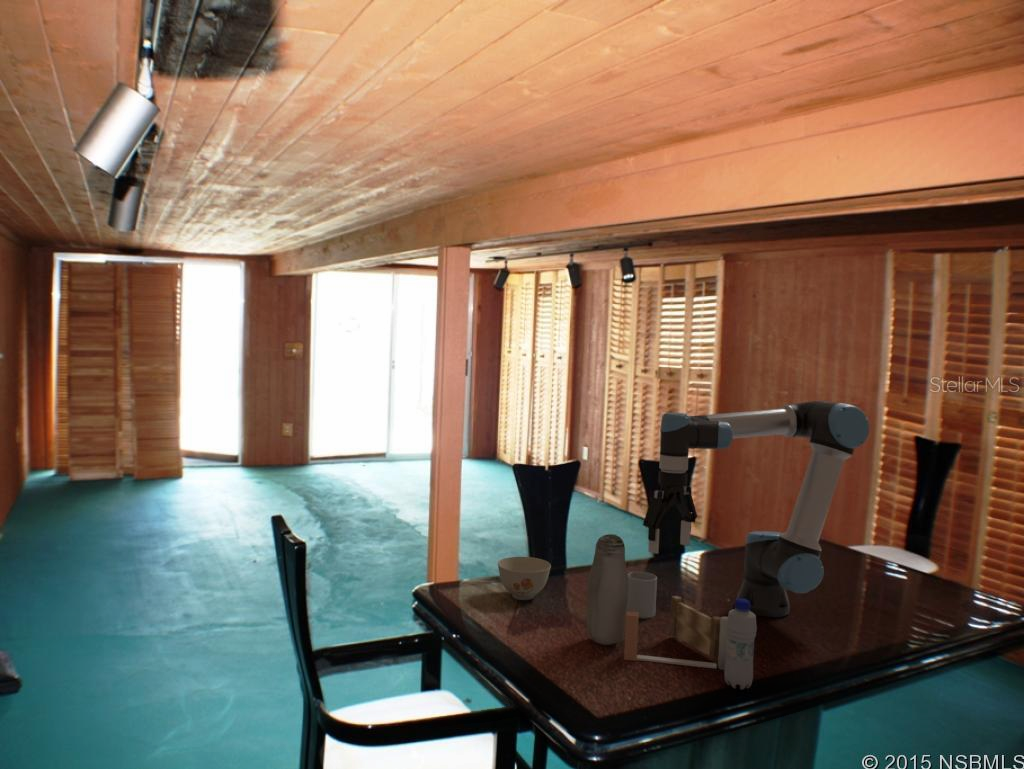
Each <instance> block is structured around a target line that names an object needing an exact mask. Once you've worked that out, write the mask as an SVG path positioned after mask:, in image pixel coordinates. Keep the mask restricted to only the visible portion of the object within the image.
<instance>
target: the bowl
mask: <svg viewBox="0 0 1024 769" xmlns="http://www.w3.org/2000/svg"><path fill="white" fill-rule="evenodd" d="M497 568H498V573H499V579H500V581H501V584H502V586H503V588H505V590H506V591H507V592H509V594H511V597H512V598H513V599H516V600H519V601H529V600H532V599H533V598H534V597H535V595H537V594H539V593H540V592H541V591H542V590H543V589H544V588H545V586H546V584H547V581H548V579H549V575H550V571H551V568H552V565H551V563H550V562H549V561H547V560H545V559H542V558H537V557H531V556H512V557H511V556H510V557H505V558H502V559H500V560H498V562H497Z"/></svg>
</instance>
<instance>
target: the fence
mask: <svg viewBox="0 0 1024 769" xmlns="http://www.w3.org/2000/svg"><path fill="white" fill-rule="evenodd" d="M720 618H721V619H720V637H719V655H718V659H717V663H715V662H710V661H709V662H708V661H707V662H706V661H697V660H690V659H679V658H671V657H669V658H668V657H663V656H662V657H660V656H654V655H653V656H651V655H643V654H638V640H639V638H638V637H639V619H640V618H639V612H631V611H626V628H625V632H624V634H625V635H624V636H625V637H624V655H623V660H626V661H633V662H635V661H636V662H637V661H643V662H650V663H651V662H652V663H659V664H660V663H661V664H670V665H678V666H679V665H680V666H690V667H697V668H708V669H715V670H716V669H717V668H718V670H721V671H725V663H726V652H727V635H728V634H727V631H726V629H727V627H726V623H727V619H728V616H721V617H720Z"/></svg>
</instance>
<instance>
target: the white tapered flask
mask: <svg viewBox="0 0 1024 769" xmlns="http://www.w3.org/2000/svg"><path fill="white" fill-rule="evenodd" d="M625 546H626V545H625V542H624V540H623V539H622V537H620V536H619V535H617V534H613V533H612V534H611V533H609V534H604V535H601V536H600V537H599V538H598V539H597V541H596V543H595V546H594V548H595V549H594V555H593V559H592V560H593V561H592V564H591V567H590V570H589V572H588V573H589V574H588V578H587V591H586V619H585V620H586V621H585V623H586V629H587V632H588V633H587V634H588V635H589V637H590V639H591V640H592V641H593V642H595V643H596V644H598V645H602V646H610V645H614V644H616V643H618V642H619V641H620V640H621V639H622V638H623V636H624V634H625V631H626V611H627V602H628V570H627V566H626V565H627V564H626V547H625Z"/></svg>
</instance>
